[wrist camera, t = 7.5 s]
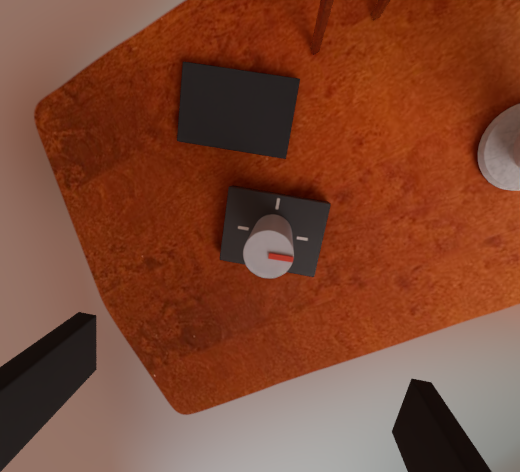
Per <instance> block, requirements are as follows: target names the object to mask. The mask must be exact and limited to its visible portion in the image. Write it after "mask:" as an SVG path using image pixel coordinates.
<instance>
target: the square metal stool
mask: <svg viewBox="0 0 520 472" xmlns="http://www.w3.org/2000/svg"><path fill="white" fill-rule="evenodd" d="M333 2H334V0H321V1H320V6H319V11H318V16H317V20H316V25H315V30H314V35H313V39H312V44H311V51H312V54H313V55H314V54H316V53H318V52H319V50H320V47H321V43H322V40H323V36H324V33H325V29H326V26H327V23H328V19H329V16H330V12H331V9H332V5H333ZM389 2H390V0H378V2H377V4H376V6H375V7H374V9H373V11H372V13H371V16H372V18H373V20H376V19H377V18H379V17H380V16H381V14H382V13H383V11H384V10H385V8H386V6H387V5H388V3H389Z"/></svg>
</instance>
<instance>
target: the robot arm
mask: <svg viewBox="0 0 520 472" xmlns="http://www.w3.org/2000/svg"><path fill="white" fill-rule="evenodd" d="M95 370H96V315H91V314H86V313H81V312H78V313H77V314H75V315H74V316H73V317H71V318H70V319H68V320H67V321H65V322H64V323H63V324H61V325H60V326H58V327H57V328H56V329H54V330H53V331H51V332H50V333H48V334H47V335H46V336H44V337H43V338H41V339H40V340H38V341H37V342H36V343H34V344H33V345H31V346H30V347H28V348H27V349H26V350H24V351H23V352H21V353H20V354H18V355H17V356H16V357H14V358H13V359H11V360H10V361H9V362H7V363H6V364H4V365H3V366H1V367H0V472H1V471H2V470H3V468H4V467H5V466H6V465H7V464H8V463H9V462H10V461H11V460H12V459H13V458H14V457H15V456H16V455H17V454H18V453H19V451H20V450H21V449H22V448H23V447H24V446H25V445H26V444H27V443H28V442H29V441H30V440H31V439H32V438H33V436H34V435H35V434H36V433H37V432H38V431H39V430H40V429H41V428H42V427H43V426H44V425H45V424H46V423H47V422H48V420H49V419H50V418H51V417H52V416H53V415H54V414H55V413H56V412H57V411H58V410H59V409H60V408H61V407H62V406H63V405H64V403H65V402H66V401H67V400H68V399H69V398H70V397H71V396H72V395H73V394H74V393H75V392H76V390H78V388H79V387H80V386H81V385H82V384H83V383H84V382H85V381H86V380H87V379H88V378H89V376H91V375H92V373H93V372H94V371H95ZM392 433H393V435H394V438H395V441H396V443H397V445H398V448H399V451H400V453H401V456H402V458H403V461H404V463H405V466H406V468H407V471H408V472H491V470H490V469H489V467H488V466H487V464H486V463H485V461H484V460H483V458H482V457H481V455H480V454H479V452H478V451H477V449H476V448H475V446H474V445H473V443H472V442H471V441H470V439H469V438H468V436H467V435H466V433H465V432H464V430H463V429H462V427H461V426H460V424H459V423H458V421H457V420H456V419H455V417H454V415H453V414H452V412H451V411H450V409H449V408H448V406H447V405H446V404H445V402H444V401H443V399H442V398H441V396H440V395H439V393H438V392H437V390H436V389H435V387H434V386H433V384H432V383H431V382H426V381H421V380H416V379H411V382H410V384H409V387H408V390H407V392H406V395H405V398H404V400H403V403H402V406H401V408H400V411H399V414H398V417H397V419H396V422H395V425H394V427H393V430H392Z"/></svg>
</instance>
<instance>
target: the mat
mask: <svg viewBox="0 0 520 472" xmlns="http://www.w3.org/2000/svg"><path fill="white" fill-rule="evenodd" d="M299 82H300V79H298V78H291V77H284V76H278V75H271V74H264V73H257V72H251V71H244V70H237V69H230V68H224V67H217V66H210V65H203V64H196V63H190V62H183V67H182V80H181V94H180V108H179V121H178V135H177V141H180V142H185V143H192V144H198V145H204V146H210V147H216V148H222V149H228V150H234V151H241V152H247V153H253V154H259V155H265V156H271V157H277V158H284V159H286V155H287V149H288V144H289V138H290V132H291V127H292V121H293V115H294V110H295V104H296V99H297V93H298V87H299Z"/></svg>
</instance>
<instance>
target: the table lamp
mask: <svg viewBox="0 0 520 472" xmlns="http://www.w3.org/2000/svg"><path fill="white" fill-rule="evenodd" d="M478 164H479V168H480V170H481V172H482V174H483V176H484V177H485V178H486V179H487V180H488V182H490V183H491V184H493V185H494V186H496V187H499V188H501V189H505V190H520V104H517V105H515V106H512V107H510V108H508V109H507V110H505V111H504V112H502V113H501V114H500V115H498V116H497V117H496V118H495V119H494V120H493V121H492V122H491V123H490V125H489V126H488V127H487V129H486V130H485V132H484V134H483V135H482V138H481V141H480V143H479V148H478Z"/></svg>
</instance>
